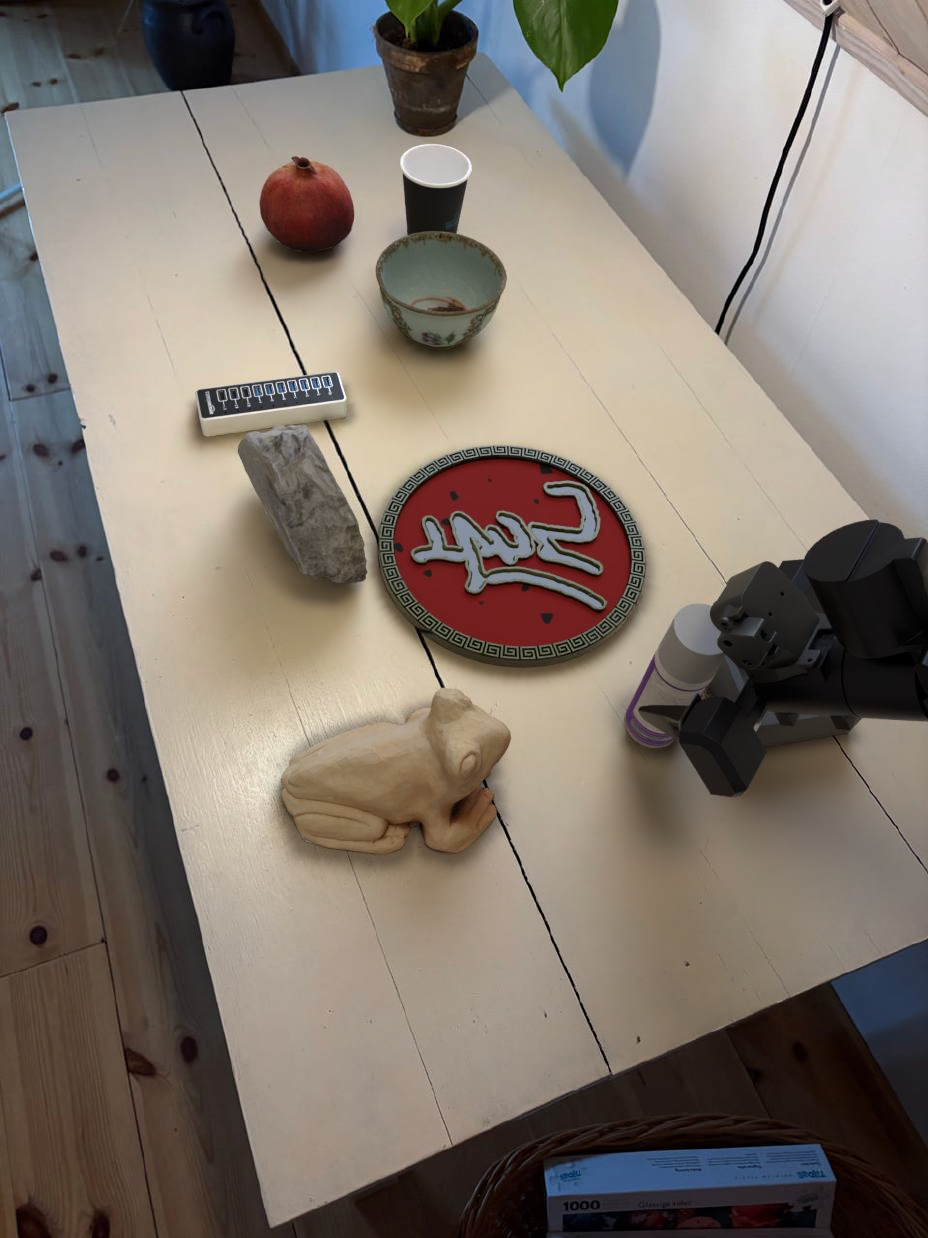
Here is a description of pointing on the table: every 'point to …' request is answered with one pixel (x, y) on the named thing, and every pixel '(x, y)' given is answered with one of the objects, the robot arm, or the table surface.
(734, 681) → the storage bin
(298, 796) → the figurine
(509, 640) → the decorative plate
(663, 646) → the container
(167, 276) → the table surface
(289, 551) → the decorative rock
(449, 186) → the dixie cup
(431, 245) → the bowl
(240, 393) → the multiport hub
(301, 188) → the fruit
